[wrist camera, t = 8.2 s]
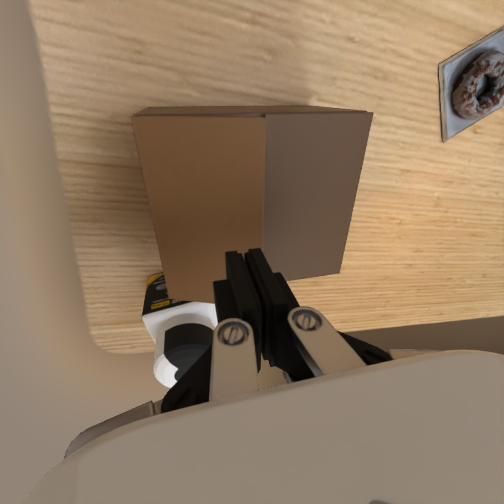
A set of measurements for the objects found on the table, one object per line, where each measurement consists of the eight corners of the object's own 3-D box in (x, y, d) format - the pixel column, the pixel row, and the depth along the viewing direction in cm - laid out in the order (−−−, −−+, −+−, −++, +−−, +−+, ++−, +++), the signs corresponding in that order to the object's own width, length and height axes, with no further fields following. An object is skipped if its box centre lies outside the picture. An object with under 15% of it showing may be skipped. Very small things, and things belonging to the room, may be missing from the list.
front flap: (170, 295, 21) (168, 298, 21) (134, 115, 15) (130, 116, 14) (261, 305, 20) (260, 309, 20) (266, 117, 14) (265, 117, 13)
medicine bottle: (206, 260, 32) (219, 336, 22) (219, 303, 36) (234, 384, 26) (147, 275, 31) (132, 362, 21) (166, 317, 35) (161, 407, 25)
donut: (501, 107, 31) (521, 108, 29) (441, 142, 31) (457, 144, 29) (508, 22, 26) (531, 17, 24) (437, 64, 27) (455, 62, 25)
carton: (171, 239, 29) (168, 299, 21) (148, 106, 23) (130, 115, 14) (297, 226, 32) (340, 273, 24) (309, 105, 26) (375, 111, 17)
